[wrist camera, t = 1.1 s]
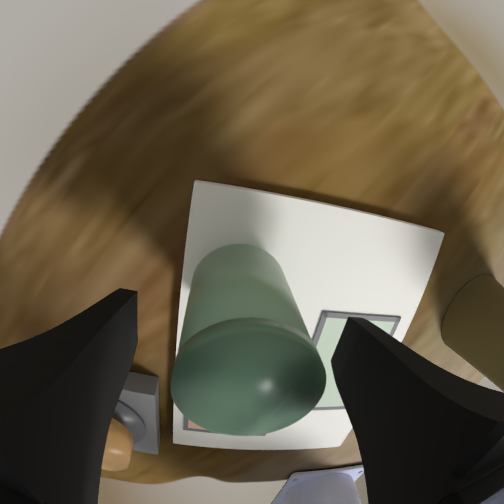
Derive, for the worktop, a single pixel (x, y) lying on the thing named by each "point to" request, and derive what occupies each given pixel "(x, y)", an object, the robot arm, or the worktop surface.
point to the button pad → (140, 411)
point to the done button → (117, 447)
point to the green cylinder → (244, 347)
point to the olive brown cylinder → (478, 327)
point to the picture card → (311, 285)
